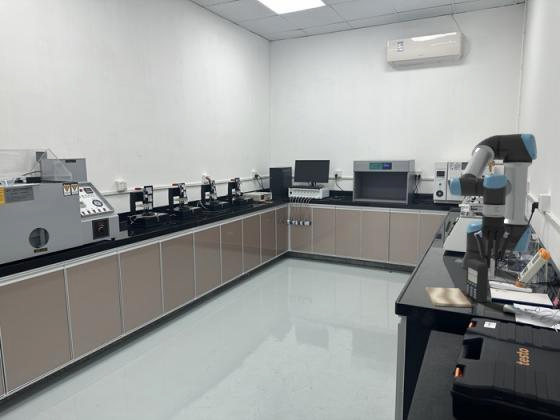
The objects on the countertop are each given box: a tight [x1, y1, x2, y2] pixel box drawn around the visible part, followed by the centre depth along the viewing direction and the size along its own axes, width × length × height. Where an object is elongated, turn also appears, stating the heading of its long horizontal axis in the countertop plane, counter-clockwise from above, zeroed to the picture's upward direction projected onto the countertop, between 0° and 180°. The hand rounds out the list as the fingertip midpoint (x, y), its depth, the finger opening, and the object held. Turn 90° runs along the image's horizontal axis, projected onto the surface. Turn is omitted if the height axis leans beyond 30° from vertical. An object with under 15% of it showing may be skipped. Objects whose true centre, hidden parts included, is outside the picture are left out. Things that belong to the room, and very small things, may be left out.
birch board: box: [425, 286, 472, 308], centre depth 153 cm, size 13×18×1 cm
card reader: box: [465, 259, 489, 303], centre depth 150 cm, size 9×4×15 cm, turn 5°
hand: (490, 275), depth 149 cm, fingers closed
